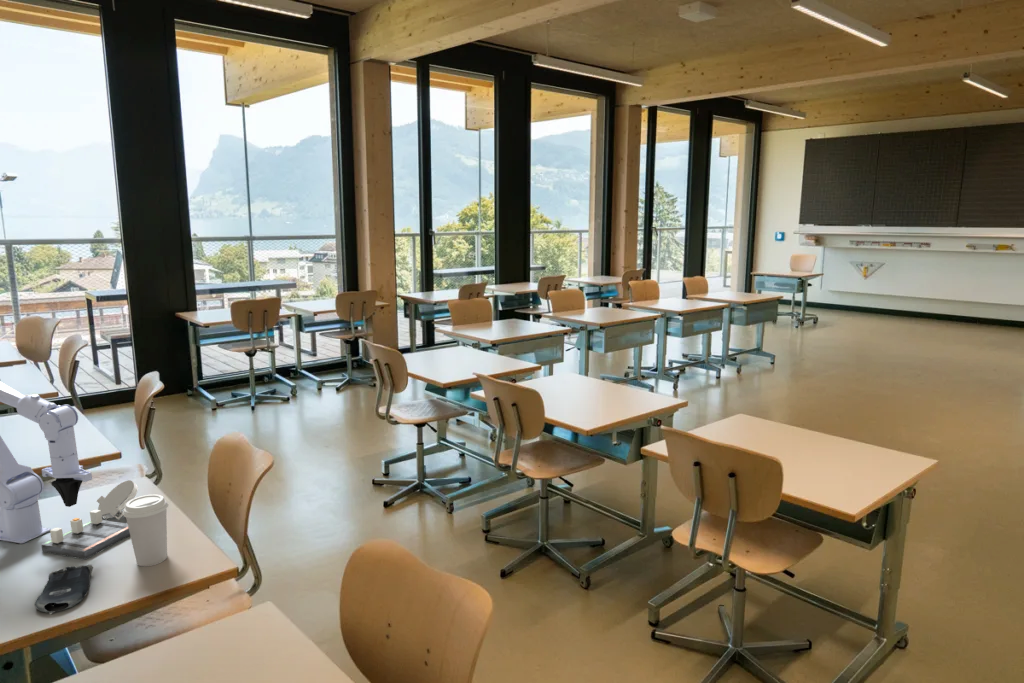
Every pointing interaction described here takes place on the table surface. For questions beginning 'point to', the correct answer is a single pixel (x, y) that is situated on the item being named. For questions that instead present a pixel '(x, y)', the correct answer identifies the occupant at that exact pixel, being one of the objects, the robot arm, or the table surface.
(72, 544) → the grey slider switch panel
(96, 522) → the block
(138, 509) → the coffee cup
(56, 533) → the block
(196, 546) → the table surface
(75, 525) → the block
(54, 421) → the robot arm
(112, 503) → the tabbed white plastic disc
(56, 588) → the electronic device
